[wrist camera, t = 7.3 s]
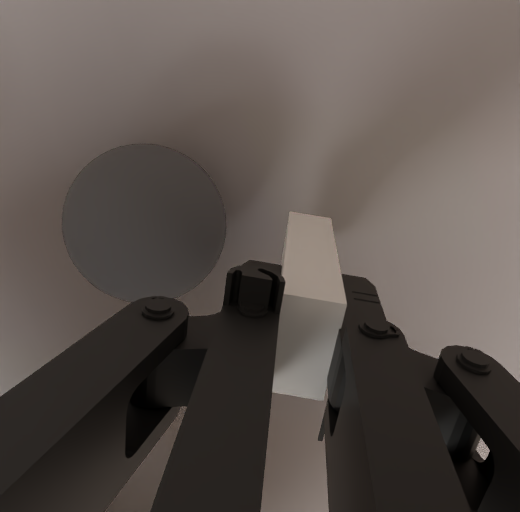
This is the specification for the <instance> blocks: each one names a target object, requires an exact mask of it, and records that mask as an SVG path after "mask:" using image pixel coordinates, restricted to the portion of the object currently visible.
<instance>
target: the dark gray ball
mask: <svg viewBox="0 0 520 512" xmlns="http://www.w3.org/2000/svg"><path fill="white" fill-rule="evenodd" d="M62 232H63V237H64V242H65V245H66V248H67V250H68V253H69V256H70V258H71V259H72V261H73V263H74V265H75V266H76V267H77V269H78V270H79V272H80V273H81V274H82V275H83V276H84V277H85V278H86V279H87V280H88V281H89V282H90V283H91V284H92V285H94V286H95V287H96V288H98V289H99V290H101V291H102V292H104V293H106V294H108V295H110V296H113V297H115V298H118V299H121V300H124V301H129V302H134V301H136V300H138V299H141V298H146V297H150V296H165V297H167V298H176V297H179V296H181V295H183V294H185V293H187V292H188V291H190V290H191V289H193V288H194V287H195V286H197V285H198V284H199V283H200V282H201V281H202V280H203V279H204V278H205V277H206V276H207V275H208V274H209V273H210V271H211V270H212V269H213V267H214V266H215V264H216V262H217V260H218V258H219V256H220V254H221V251H222V248H223V244H224V240H225V234H226V215H225V209H224V205H223V202H222V199H221V196H220V194H219V192H218V190H217V188H216V186H215V184H214V182H213V181H212V179H211V178H210V176H209V175H208V174H207V173H206V172H205V171H204V170H203V169H202V168H201V167H200V166H199V165H198V164H197V163H196V162H194V161H193V160H192V159H190V158H189V157H187V156H186V155H184V154H182V153H180V152H178V151H176V150H173V149H170V148H167V147H164V146H159V145H153V144H132V145H127V146H122V147H118V148H115V149H112V150H110V151H108V152H106V153H104V154H102V155H100V156H99V157H97V158H95V159H94V160H92V161H91V162H90V163H89V164H88V165H87V166H86V167H85V168H84V169H83V170H82V171H81V172H80V173H79V175H78V176H77V177H76V179H75V180H74V182H73V184H72V185H71V187H70V189H69V191H68V194H67V196H66V199H65V203H64V207H63V215H62Z"/></svg>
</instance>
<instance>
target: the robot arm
mask: <svg viewBox="0 0 520 512" xmlns="http://www.w3.org/2000/svg"><path fill="white" fill-rule="evenodd" d="M188 316H189V313H188V308H187V307H186V306H185V305H184V304H183V303H182V302H180V301H177V300H175V299H173V298H167V297H165V296H150V297H146V298H141V299H138V300H136V301H134V302H132V303H130V304H129V305H128V306H126V307H125V308H124V309H122V310H121V311H119V312H118V313H117V314H115V315H114V316H112V317H111V318H110V319H108V320H107V321H105V322H104V323H103V324H101V325H100V326H98V327H97V328H96V329H94V330H93V331H91V332H90V333H89V334H87V335H86V336H84V337H83V338H82V339H80V340H79V341H78V342H76V343H75V344H73V345H72V346H71V347H69V348H68V349H66V350H65V351H64V352H62V353H61V354H59V355H58V356H57V357H55V358H54V359H52V360H51V361H50V362H48V363H47V364H45V365H44V366H43V367H41V368H40V369H38V370H37V371H36V372H34V373H33V374H32V375H30V376H29V377H27V378H26V379H25V380H23V381H22V382H20V383H19V384H18V385H16V386H15V387H13V388H12V389H11V390H9V391H8V392H6V393H5V394H4V395H2V396H1V397H0V512H104V511H105V510H106V508H107V507H108V506H109V505H110V503H111V502H112V501H113V499H114V498H115V497H116V495H117V494H118V493H119V491H120V490H121V489H122V487H123V486H124V485H125V483H126V482H127V481H128V480H129V478H130V477H131V476H132V474H133V473H134V472H135V470H136V469H137V468H138V466H139V465H140V464H141V462H142V461H143V460H144V458H145V457H146V456H147V455H148V453H149V452H150V451H151V449H152V448H153V447H154V445H155V444H156V443H157V441H158V440H159V439H160V437H161V436H162V435H163V434H164V432H165V431H166V430H167V428H168V427H169V426H170V424H171V423H172V422H173V420H174V419H175V418H176V416H177V414H178V412H179V410H180V406H187V409H186V412H185V415H184V417H183V420H182V423H181V426H180V429H179V432H178V434H177V437H176V440H175V443H174V446H173V449H172V451H171V454H170V457H169V460H168V463H167V466H166V469H165V471H164V474H163V477H162V480H161V483H160V486H159V488H158V491H157V494H156V497H155V500H154V503H153V505H152V508H151V511H150V512H260V509H261V499H262V489H263V479H264V469H265V458H266V448H267V438H268V428H269V418H270V408H271V398H272V392H273V393H279V394H285V395H290V396H296V397H302V398H307V399H313V400H319V401H323V400H324V396H325V392H326V388H327V387H328V401H327V405H326V409H325V413H324V417H323V421H322V425H321V429H320V433H319V437H318V441H322V440H323V437H324V434H325V447H326V466H327V485H328V504H329V512H520V383H519V382H518V381H517V380H516V379H515V378H514V377H513V376H512V375H511V374H510V373H509V372H508V371H507V370H506V369H505V368H504V367H503V366H502V365H501V364H500V363H498V362H497V361H496V360H494V359H493V358H492V357H490V356H488V355H486V354H484V353H483V352H482V351H480V350H477V349H473V348H471V347H467V346H466V347H464V346H457V345H455V346H447V347H445V348H444V349H442V351H441V353H440V356H439V359H436V358H433V357H430V356H428V355H425V354H422V353H419V352H417V351H414V350H412V349H410V348H409V347H408V344H407V342H406V339H405V337H404V335H403V333H402V332H401V330H400V329H399V328H397V327H396V326H395V325H393V324H392V323H390V322H388V321H386V318H385V315H384V312H383V309H382V306H381V304H380V300H379V297H378V294H377V291H376V288H375V286H374V285H373V284H372V283H370V282H369V281H368V280H367V279H366V278H362V277H356V276H350V275H344V274H341V269H340V264H339V259H338V253H337V248H336V243H335V237H334V232H333V227H332V221H331V218H327V217H321V216H315V215H309V214H303V213H297V212H289V218H288V224H287V230H286V235H285V241H284V247H283V253H282V258H281V264H280V265H277V264H271V263H265V262H259V261H253V260H249V261H248V262H246V263H244V264H243V265H241V266H237V267H234V268H231V269H230V270H229V271H228V272H227V278H226V286H225V294H224V302H223V307H222V310H221V312H219V313H216V314H213V315H208V316H191V317H188ZM481 438H482V440H483V441H484V442H485V444H486V445H487V446H488V448H489V450H490V452H489V454H488V456H487V458H486V460H485V461H484V460H483V459H482V458H481V456H480V455H479V454H478V452H477V451H476V448H477V446H478V443H479V441H480V439H481Z"/></svg>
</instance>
